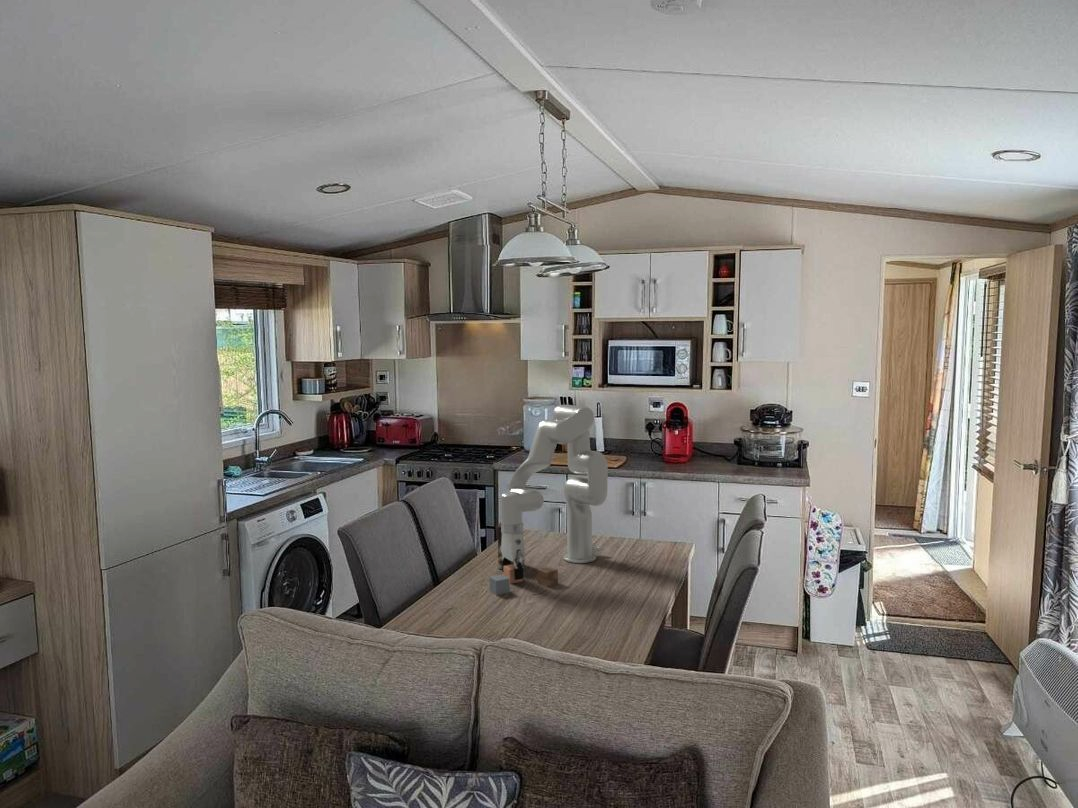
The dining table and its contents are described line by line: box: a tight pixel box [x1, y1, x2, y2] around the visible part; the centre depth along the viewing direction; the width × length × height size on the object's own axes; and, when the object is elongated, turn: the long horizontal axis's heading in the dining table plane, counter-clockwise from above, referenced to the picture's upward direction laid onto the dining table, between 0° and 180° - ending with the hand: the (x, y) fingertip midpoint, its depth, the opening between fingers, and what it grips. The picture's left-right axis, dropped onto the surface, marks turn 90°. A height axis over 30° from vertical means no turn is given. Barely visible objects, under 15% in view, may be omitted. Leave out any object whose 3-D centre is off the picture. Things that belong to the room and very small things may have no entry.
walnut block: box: [537, 565, 559, 587], centre depth 262 cm, size 5×5×5 cm
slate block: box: [489, 573, 511, 596], centre depth 254 cm, size 5×5×5 cm
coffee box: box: [497, 522, 524, 570], centre depth 280 cm, size 9×6×16 cm
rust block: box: [503, 564, 524, 584], centre depth 265 cm, size 5×5×5 cm
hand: (512, 575), depth 265 cm, fingers open, 9 cm apart
